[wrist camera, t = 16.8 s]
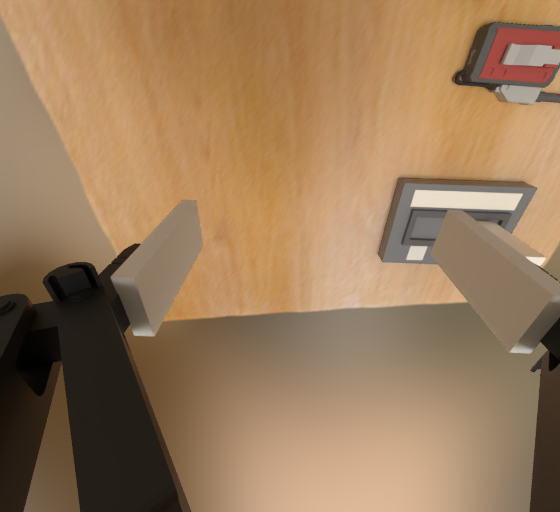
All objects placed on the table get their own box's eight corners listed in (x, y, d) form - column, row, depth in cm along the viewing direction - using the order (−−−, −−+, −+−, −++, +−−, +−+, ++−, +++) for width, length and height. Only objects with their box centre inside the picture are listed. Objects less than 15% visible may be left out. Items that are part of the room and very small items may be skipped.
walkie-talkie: (443, 98, 41) (573, 108, 41) (459, 99, 37) (601, 110, 37) (470, 22, 36) (616, 34, 36) (490, 15, 32) (654, 28, 32)
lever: (474, 219, 47) (524, 256, 37) (491, 220, 47) (546, 257, 37) (465, 239, 49) (510, 279, 39) (481, 240, 49) (530, 279, 39)
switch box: (398, 177, 47) (406, 184, 44) (524, 182, 47) (541, 189, 43) (378, 254, 56) (383, 264, 52) (483, 258, 55) (495, 268, 52)
